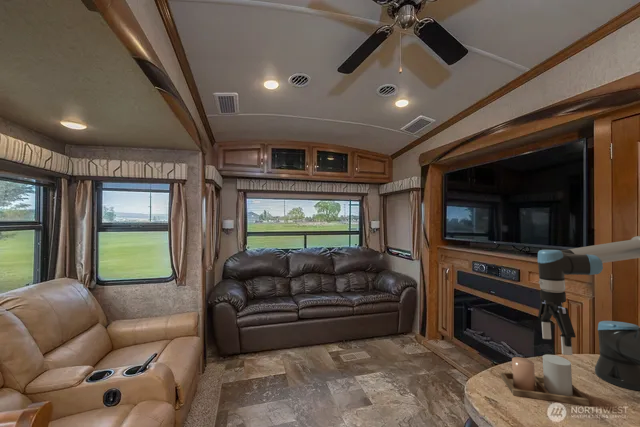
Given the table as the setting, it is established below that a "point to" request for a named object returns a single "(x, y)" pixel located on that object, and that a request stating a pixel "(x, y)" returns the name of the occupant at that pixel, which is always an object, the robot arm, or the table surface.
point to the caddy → (543, 391)
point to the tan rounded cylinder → (523, 374)
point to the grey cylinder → (557, 375)
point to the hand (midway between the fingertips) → (556, 346)
